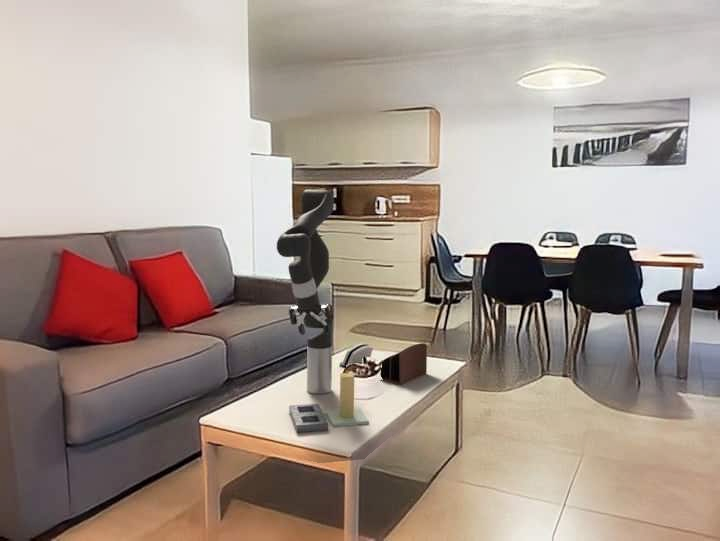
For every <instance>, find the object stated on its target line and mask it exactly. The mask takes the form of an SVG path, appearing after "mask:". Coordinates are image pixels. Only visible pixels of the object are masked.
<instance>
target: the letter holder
mask: <svg viewBox="0 0 720 541" xmlns="http://www.w3.org/2000/svg"><path fill="white" fill-rule="evenodd" d="M427 354H428V345H427V343H426V342H425V343H424V342H422V343H417V344H414V345H413V344H412V345H411V346H408V347H407V348H404V349H403V350H401V351H399V352H398V353H394V354H393V355H391V356H390V355H389V356H388V357H387V358H385V359H383V360H382V361H381V362H382V368H381V367H380V370H381V372H380V373H379V374H380V375H381V377H382V379H383V380H384V381H383V382H385V381H386V383H389V384H395V385H398V386H401V385H404V384H406V383H408V382H411V381H413V380H415V379H418V378H420V377H422V376H425V375H427V364H428V362H427V361H428V355H427ZM380 375H379V376H380Z"/></svg>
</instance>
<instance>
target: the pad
mask: <svg viewBox="0 0 720 541" xmlns="http://www.w3.org/2000/svg"><path fill="white" fill-rule="evenodd" d="M362 410H363V409H361V407H360V408H358V407H356V408H354V418H341V416H340V409H329V410H327V409H326V410H325V415H326V418H328V419H327V420H328V421H329V423H330V425H331V426H332V427H333V428H334V427H346V426H347V425H349V426H359V425H358V424H363V425H369V424H370V422H369V418H368V417H367V416H366V414H364V412H363V411H362ZM347 427H348V426H347Z"/></svg>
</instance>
